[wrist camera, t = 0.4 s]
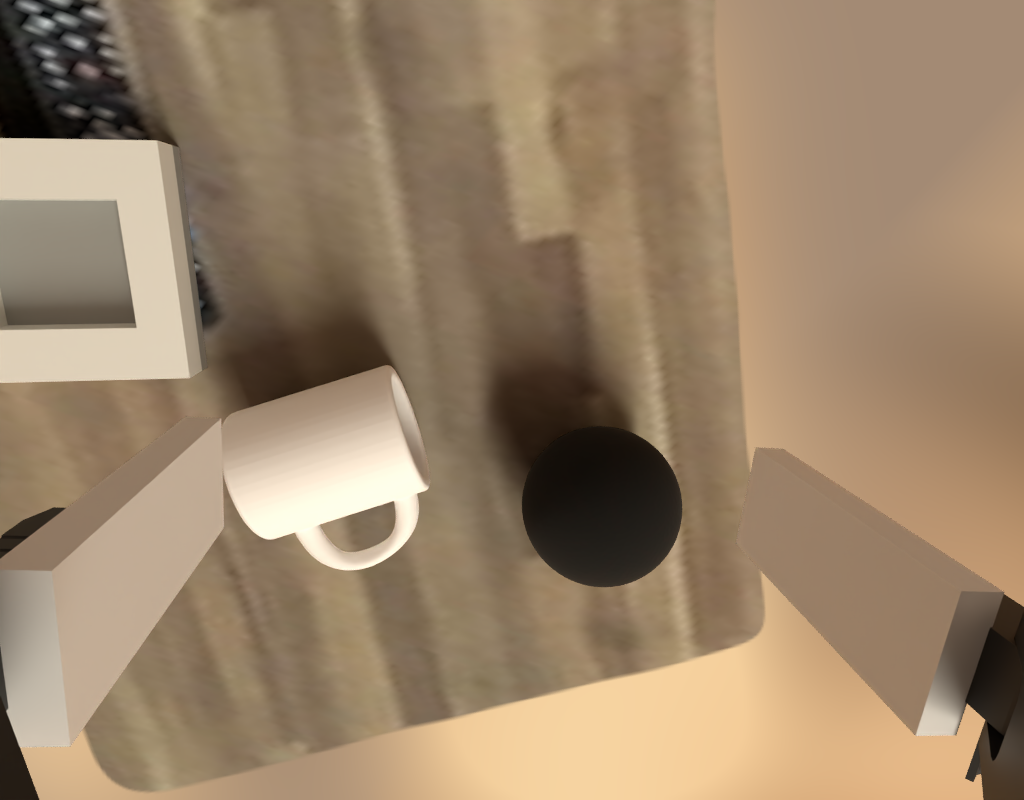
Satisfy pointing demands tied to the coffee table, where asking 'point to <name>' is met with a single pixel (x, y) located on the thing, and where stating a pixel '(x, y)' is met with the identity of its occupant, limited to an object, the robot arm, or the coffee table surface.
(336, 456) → the mug
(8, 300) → the socket block
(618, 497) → the decorative ball
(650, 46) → the coffee table surface
